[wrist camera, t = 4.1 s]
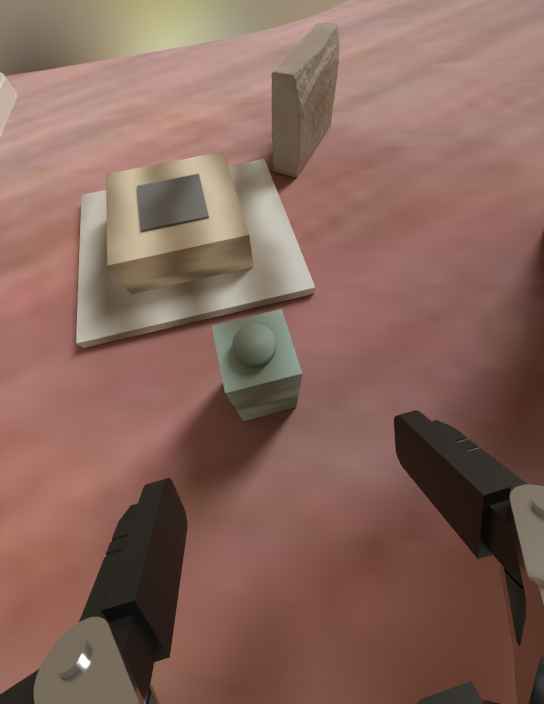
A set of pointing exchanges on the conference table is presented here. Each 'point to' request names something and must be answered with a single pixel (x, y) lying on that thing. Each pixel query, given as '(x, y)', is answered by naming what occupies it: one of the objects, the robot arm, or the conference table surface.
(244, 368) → the post
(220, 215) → the stand
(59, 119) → the conference table surface
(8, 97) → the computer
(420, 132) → the conference table surface
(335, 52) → the fossil
